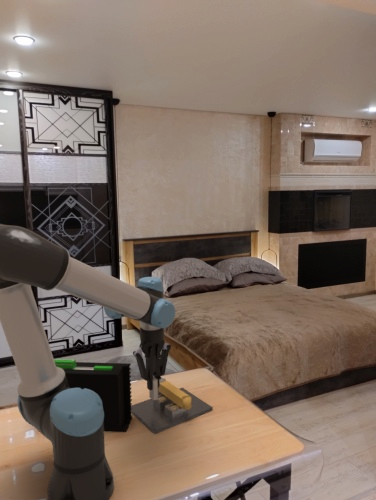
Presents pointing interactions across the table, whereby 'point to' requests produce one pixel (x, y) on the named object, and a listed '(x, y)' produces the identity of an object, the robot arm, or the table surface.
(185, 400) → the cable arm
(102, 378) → the electronic device
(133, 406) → the chassis plate
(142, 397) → the table surface
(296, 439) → the table surface
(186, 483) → the table surface
